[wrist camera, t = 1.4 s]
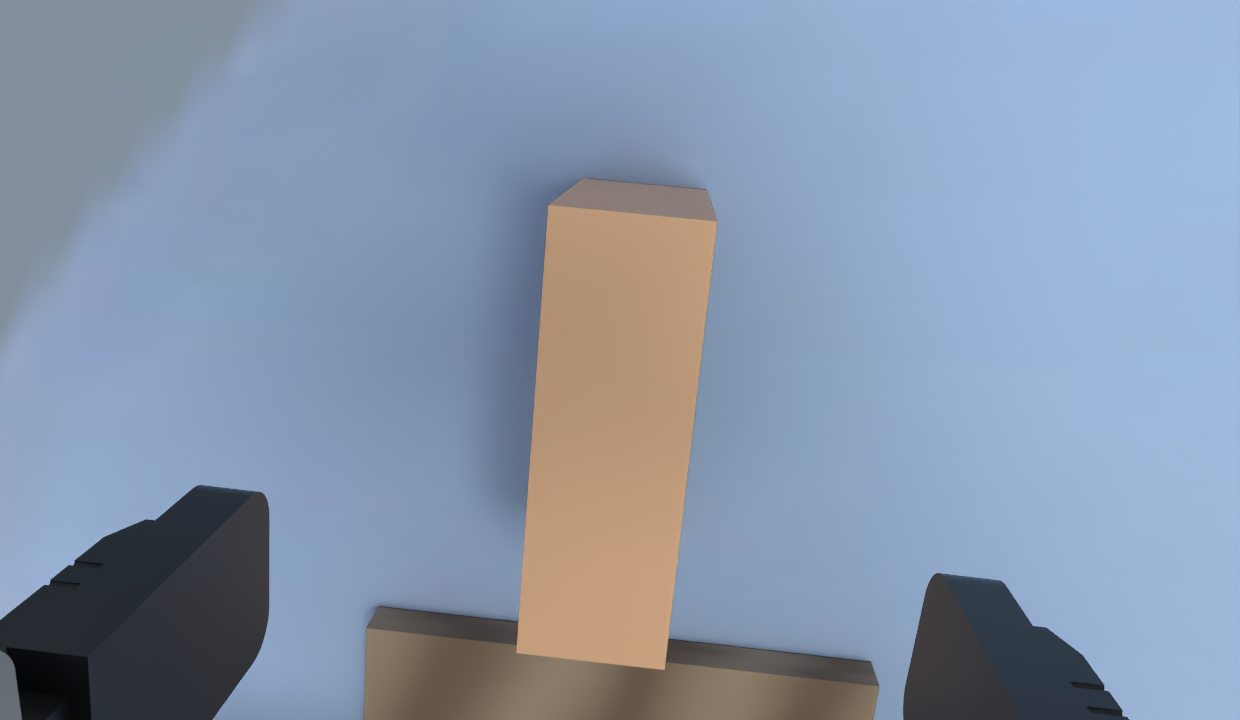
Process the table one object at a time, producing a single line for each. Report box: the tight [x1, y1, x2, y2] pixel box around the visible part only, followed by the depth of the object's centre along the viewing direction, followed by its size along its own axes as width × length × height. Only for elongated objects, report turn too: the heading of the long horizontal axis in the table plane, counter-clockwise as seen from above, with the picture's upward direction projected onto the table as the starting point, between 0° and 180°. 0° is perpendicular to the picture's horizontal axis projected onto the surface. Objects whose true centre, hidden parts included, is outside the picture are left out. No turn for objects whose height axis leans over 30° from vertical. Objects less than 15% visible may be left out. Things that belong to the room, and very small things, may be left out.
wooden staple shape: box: [516, 178, 717, 670], centre depth 28 cm, size 12×4×8 cm, turn 175°
